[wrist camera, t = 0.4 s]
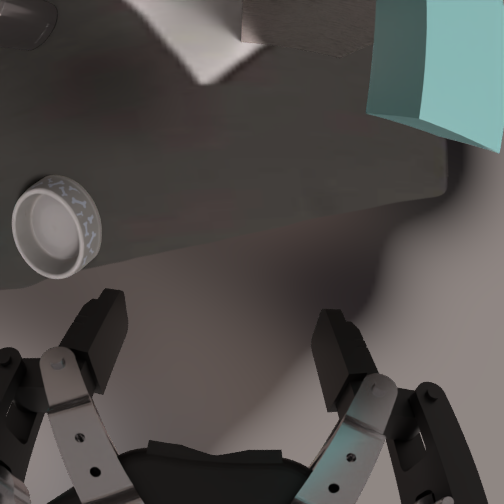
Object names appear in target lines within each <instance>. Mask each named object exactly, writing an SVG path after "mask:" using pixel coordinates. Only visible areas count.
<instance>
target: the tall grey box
mask: <svg viewBox="0 0 504 504" xmlns="http://www.w3.org/2000/svg"><path fill="white" fill-rule="evenodd" d="M503 4H504V0H503ZM375 15H376V0H243V8H242V34H241V42H247V43H256V44H265V45H273V46H280V47H286V48H292V49H298V50H304V51H309V52H314V53H319V54H323V55H328V56H332V57H336V58H342V57H344V56H346V55H348V54H350V53H352V52H355V51H357V50H359V49H361V48H364V47H366V46H368V45H371V44H373V43H374V31H375Z"/></svg>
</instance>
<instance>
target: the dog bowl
mask: <svg viewBox="0 0 504 504" xmlns="http://www.w3.org/2000/svg"><path fill="white" fill-rule="evenodd" d="M12 231H13V236H14V240H15V243H16V246H17V248H18V250H19V252H20V254H21V256H22V257H23V258H24V260H25V261H26V262H27V264H28V265H29V266H30V267H31V268H33V269H34V270H35V271H36V272H38V273H39V274H41V275H43V276H45V277H48V278H53V279H62V278H66V277H69V276H71V275H72V274H74V273H76V272H78V271H79V270H81V269H82V268H83V267H84V266H85V265H87V264H88V263H89V262H90V261H91V260H92V259H93V258H94V257H95V256H96V255H97V254H98V251H99V249H100V245H101V238H102V227H101V220H100V216H99V213H98V210H97V207H96V205H95V203H94V201H93V200H92V198H91V196H90V195H89V194H88V192H87V191H86V190H85V189H84V188H83V187H82V186H81V185H80V184H78V183H77V182H75V181H74V180H72V179H70V178H68V177H65V176H61V175H49V176H46V177H44V178H43V179H41V180H40V181H38V182H37V183H35V184H34V185H32V186H31V187H30V188H28V189H27V190H26V191H25V192H24V194H23V195H22V196H21V197H20V198H19V199H18V201H17V203H16V205H15V207H14V211H13V215H12Z"/></svg>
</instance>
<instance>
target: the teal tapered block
mask: <svg viewBox="0 0 504 504" xmlns="http://www.w3.org/2000/svg"><path fill="white" fill-rule="evenodd" d="M366 113H367V114H370V115H374V116H378V117H381V118H385V119H388V120H392V121H395V122H398V123H402V124H405V125H408V126H411V127H414V128H417V129H420V130H423V131H426V132H429V133H431V134H434V135H437V136H440V137H444V138H448V139H452V140H456V141H459V142H463V143H467V144H470V145H474V146H477V147H481V148H484V149H487V150H490V151H493V152H496V153H499V152H500V147H501V141H502V133H503V127H504V5H503V0H376V15H375V31H374V45H373V56H372V67H371V76H370V85H369V93H368V100H367V108H366Z"/></svg>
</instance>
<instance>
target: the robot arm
mask: <svg viewBox="0 0 504 504" xmlns="http://www.w3.org/2000/svg"><path fill="white" fill-rule="evenodd" d="M56 20H57V9H56V7H55V6H54V5H53V4H51V3H49V2H46V1H44V0H0V47H5V48H13V49H21V50H32V49H35V48H37V47H38V46H40V45H41V44H42V43H43V42H44V41H45V40H46V39H47V38H48V37H49V35H50V34H51V32H52V30H53V28H54V26H55V23H56ZM127 330H128V317H127V311H126V303H125V296H124V292H123V291H121V290H114V289H107V288H105V289H104V290H103V292H102V293H101V295H100V297H99V298H98V299H92V300H90V301H89V302H88V303H86V304H85V305H84V306H83V307H82V309H81V311H80V312H79V314H78V316H77V317H76V318H75V320H74V322H73V323H72V325H71V326H70V328H69V329H68V331H67V333H66V334H65V336H64V338H63V339H62V341H61V343H60V345H59V346H58V347H53V348H50V349H48V350H47V351H46V352H44V354H43V355H42V356H41V358H22V357H21V355H20V353H19V351H18V350H16V349H14V348H11V347H7V348H3V349H0V504H31V500H30V495H29V491H28V489H27V487H26V486H25V484H24V480H25V475H26V472H27V468H28V464H29V460H30V457H31V454H32V450H33V447H34V444H35V441H36V437H37V434H38V431H39V428H40V425H41V422H42V420H43V417H44V414H45V413H48V417H49V421H50V424H51V427H52V430H53V434H54V437H55V440H56V443H57V446H58V448H59V451H60V454H61V456H62V459H63V462H64V464H65V467H66V469H67V471H68V474H69V476H70V479H71V481H72V483H73V485H74V486H73V487H72V488H70V489H69V490H67V491H66V492H64V493H63V494H61V495H60V496H58V497H56V498H55V499H53V500H52V501H50V502H48V503H47V504H355V503H356V501H357V500H358V497H359V496H360V494H361V492H362V490H363V488H364V486H365V484H366V482H367V480H368V478H369V476H370V473H371V472H372V469H373V467H374V465H375V463H376V460H377V458H378V456H379V454H380V451H381V449H382V447H383V444H384V441H385V439H386V442H387V446H388V450H389V453H390V457H391V461H392V465H393V469H394V473H395V477H396V481H397V486H398V490H399V495H400V499H401V504H488V502H487V498H486V495H485V492H484V489H483V486H482V483H481V480H480V477H479V474H478V471H477V468H476V465H475V463H474V460H473V458H472V455H471V452H470V450H469V447H468V445H467V443H466V440H465V437H464V435H463V432H462V430H461V428H460V425H459V423H458V421H457V418H456V416H455V414H454V412H453V410H452V407H451V405H450V403H449V401H448V399H447V397H446V395H445V393H444V391H443V390H442V388H441V387H439V386H438V385H436V384H434V383H432V382H423V383H421V384H420V385H419V386H418V387H417V388H416V390H415V391H414V390H407V389H402V388H397V386H396V384H395V383H394V382H393V380H391V379H390V378H389V377H387V376H385V375H383V374H379V373H378V370H377V368H376V366H375V363H374V361H373V359H372V357H371V354H370V352H369V350H368V348H366V343H365V341H364V340H363V337H362V335H361V333H360V330H359V329H358V328H357V327H356V326H355V325H354V324H353V323H352V322H348V321H347V322H346V320H345V318H344V315H343V313H342V311H341V310H340V309H322V310H321V312H320V314H319V318H318V321H317V324H316V327H315V330H314V333H313V336H312V341H311V348H312V353H313V357H314V361H315V365H316V368H317V372H318V376H319V380H320V384H321V388H322V392H323V395H324V400H325V404H326V408H327V412H338V416H339V420H338V422H337V424H336V425H335V427H334V429H333V430H332V432H331V434H330V435H329V437H328V439H327V440H326V442H325V444H324V445H323V447H322V448H321V450H320V451H319V453H318V455H317V456H316V457H315V459H314V460H313V462H312V463H311V464H310V466H309V467H306V466H304V465H302V464H301V463H298V462H296V461H293V460H290V459H286V458H282V452H281V450H246V451H241V452H235V453H230V454H224V455H210V454H207V453H203V452H201V451H197V450H194V449H191V448H188V447H185V446H183V445H178V444H171V443H164V442H158V441H152V440H149V443H148V448H140V449H134V450H130V451H127V452H125V453H122V454H120V455H119V453H118V451H117V449H116V448H115V446H114V444H113V442H112V440H111V438H110V436H109V434H108V433H107V430H106V428H105V426H104V424H103V422H102V419H101V418H100V415H99V413H98V411H97V408H96V406H95V404H94V401H93V399H92V396H93V394H94V393H98V394H102V395H103V394H104V391H105V389H106V386H107V383H108V380H109V378H110V375H111V372H112V370H113V367H114V364H115V362H116V359H117V357H118V354H119V352H120V349H121V347H122V344H123V342H124V339H125V337H126V334H127ZM11 403H12V404H11ZM10 405H11V406H10ZM9 407H10V408H9ZM8 410H9V411H8ZM7 412H8V413H7ZM6 415H7V416H6ZM419 432H421V435H422V438H423V441H424V443H425V447H426V451H425V448H424V445H423V442H422V439H421V436H420V433H419Z"/></svg>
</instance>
